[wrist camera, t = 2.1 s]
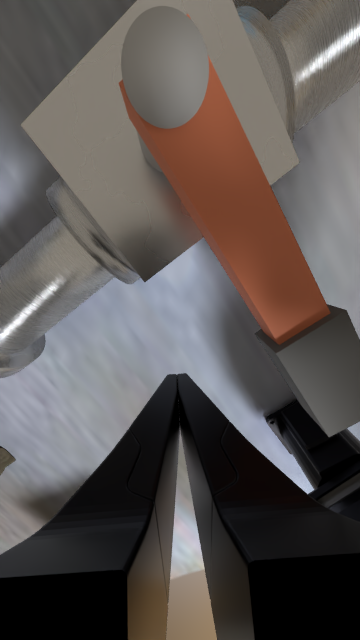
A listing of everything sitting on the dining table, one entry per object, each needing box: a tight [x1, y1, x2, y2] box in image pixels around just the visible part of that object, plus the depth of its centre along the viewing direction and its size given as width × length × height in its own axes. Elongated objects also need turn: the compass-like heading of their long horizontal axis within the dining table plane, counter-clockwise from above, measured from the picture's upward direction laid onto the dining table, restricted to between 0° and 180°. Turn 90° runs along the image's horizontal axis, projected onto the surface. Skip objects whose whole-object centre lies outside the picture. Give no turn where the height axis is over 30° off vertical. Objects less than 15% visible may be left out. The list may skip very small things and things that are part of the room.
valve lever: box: [119, 6, 360, 437], centre depth 7 cm, size 14×3×3 cm, turn 36°
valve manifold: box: [0, 0, 360, 378], centre depth 11 cm, size 7×32×7 cm, turn 126°
